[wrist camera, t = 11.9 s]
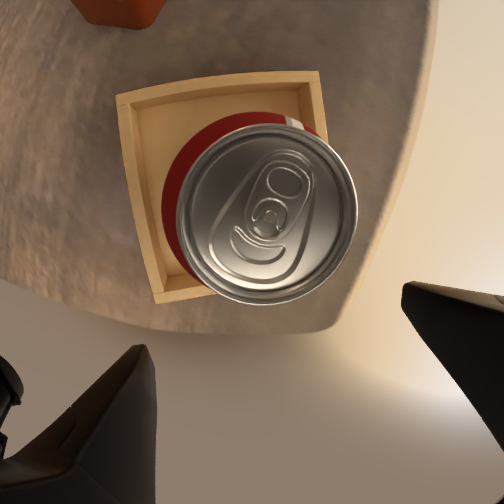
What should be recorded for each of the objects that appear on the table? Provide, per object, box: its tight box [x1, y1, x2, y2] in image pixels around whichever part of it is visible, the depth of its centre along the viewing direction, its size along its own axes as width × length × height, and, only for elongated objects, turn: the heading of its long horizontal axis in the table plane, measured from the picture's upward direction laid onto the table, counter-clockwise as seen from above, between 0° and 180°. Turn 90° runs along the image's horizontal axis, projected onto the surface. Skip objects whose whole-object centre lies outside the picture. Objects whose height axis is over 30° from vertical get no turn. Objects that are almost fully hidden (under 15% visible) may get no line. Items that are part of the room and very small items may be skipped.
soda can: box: [161, 112, 358, 306], centre depth 14 cm, size 7×7×12 cm
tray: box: [115, 71, 328, 304], centre depth 19 cm, size 14×13×3 cm
